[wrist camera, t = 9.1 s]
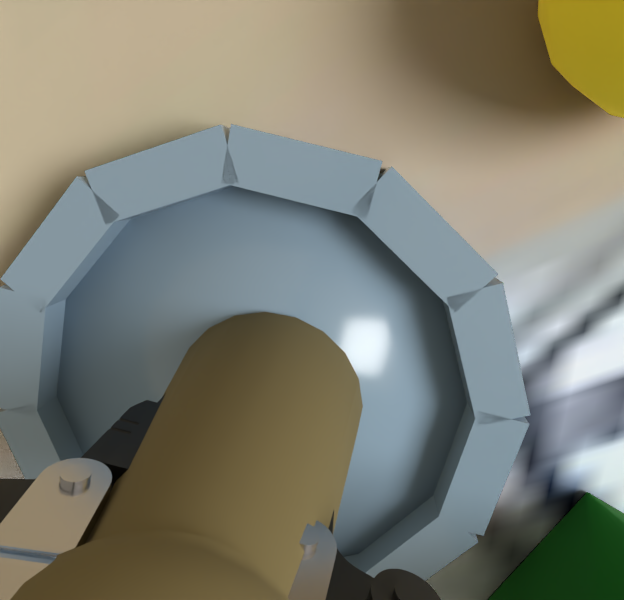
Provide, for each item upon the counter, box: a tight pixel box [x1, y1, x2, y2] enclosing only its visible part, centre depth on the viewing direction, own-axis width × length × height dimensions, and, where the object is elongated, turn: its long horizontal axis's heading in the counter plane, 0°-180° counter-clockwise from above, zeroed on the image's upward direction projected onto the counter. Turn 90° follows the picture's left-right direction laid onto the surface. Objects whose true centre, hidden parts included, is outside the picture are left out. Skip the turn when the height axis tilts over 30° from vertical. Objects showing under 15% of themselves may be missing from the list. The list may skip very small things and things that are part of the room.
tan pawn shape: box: [10, 312, 363, 600], centre depth 9 cm, size 6×6×11 cm
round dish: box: [0, 124, 530, 581], centre depth 15 cm, size 16×16×2 cm
